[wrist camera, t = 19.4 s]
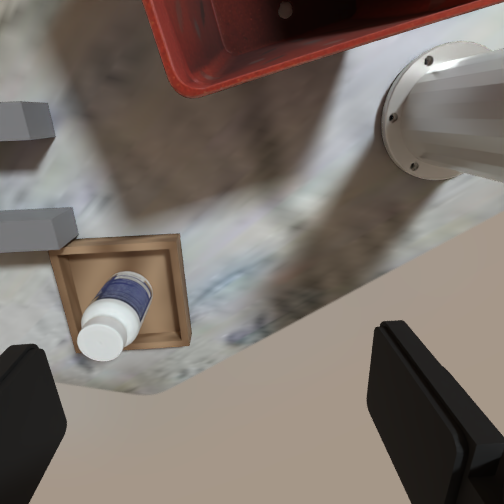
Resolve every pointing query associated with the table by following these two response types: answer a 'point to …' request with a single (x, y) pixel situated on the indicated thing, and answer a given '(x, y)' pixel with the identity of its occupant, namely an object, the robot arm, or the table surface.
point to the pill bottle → (114, 316)
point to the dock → (32, 220)
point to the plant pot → (275, 34)
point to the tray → (134, 260)
